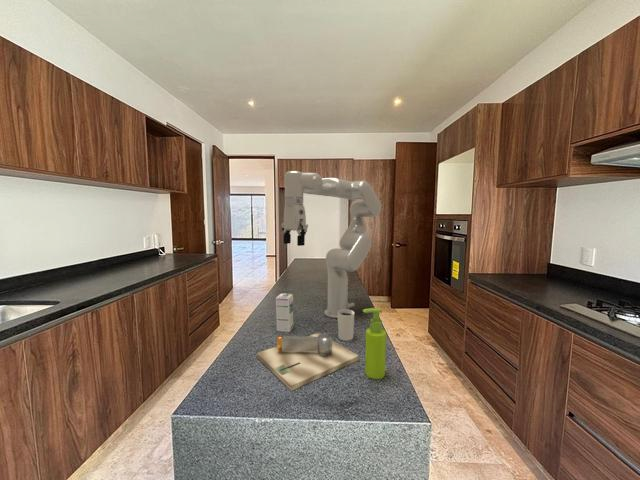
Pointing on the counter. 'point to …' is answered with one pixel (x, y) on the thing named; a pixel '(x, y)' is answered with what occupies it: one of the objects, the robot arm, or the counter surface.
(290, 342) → the lever
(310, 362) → the dial board
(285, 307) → the syrup box
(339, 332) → the white cup
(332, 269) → the robot arm
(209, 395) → the counter surface
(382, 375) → the soap dispenser
